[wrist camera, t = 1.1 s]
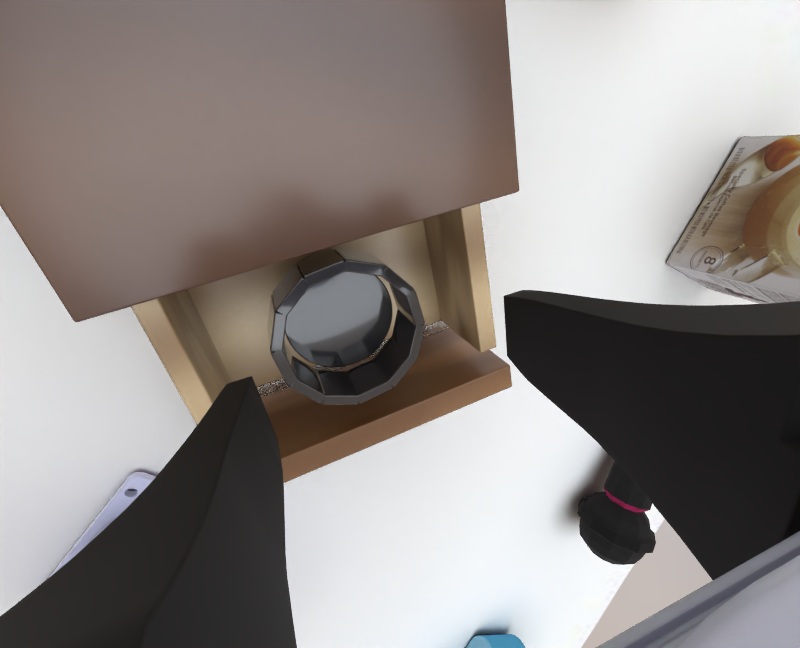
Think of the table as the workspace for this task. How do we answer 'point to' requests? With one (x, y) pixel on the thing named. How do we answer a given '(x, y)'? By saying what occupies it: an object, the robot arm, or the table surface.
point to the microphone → (617, 520)
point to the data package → (495, 641)
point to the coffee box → (749, 225)
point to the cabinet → (240, 132)
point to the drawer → (349, 423)
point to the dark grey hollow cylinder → (343, 326)
